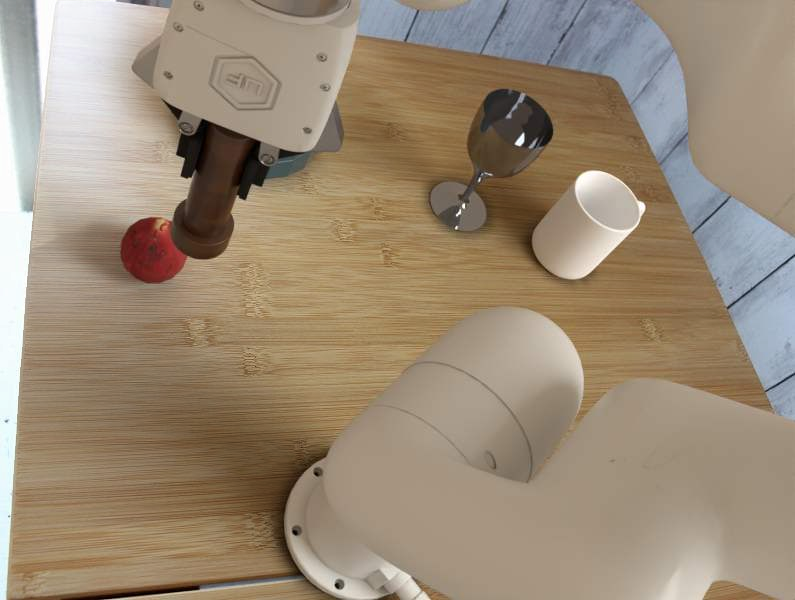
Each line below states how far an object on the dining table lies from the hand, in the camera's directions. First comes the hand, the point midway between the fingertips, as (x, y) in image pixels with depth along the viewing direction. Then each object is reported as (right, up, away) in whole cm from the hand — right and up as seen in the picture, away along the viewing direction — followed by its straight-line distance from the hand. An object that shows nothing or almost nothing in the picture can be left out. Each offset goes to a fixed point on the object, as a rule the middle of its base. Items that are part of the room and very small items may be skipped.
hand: (219, 172), depth 57 cm
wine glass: (+19, +2, +40) cm, 44 cm away
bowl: (-4, +10, +35) cm, 36 cm away
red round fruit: (-11, -6, +21) cm, 25 cm away
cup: (+33, -3, +43) cm, 54 cm away
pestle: (-3, -4, +6) cm, 8 cm away
